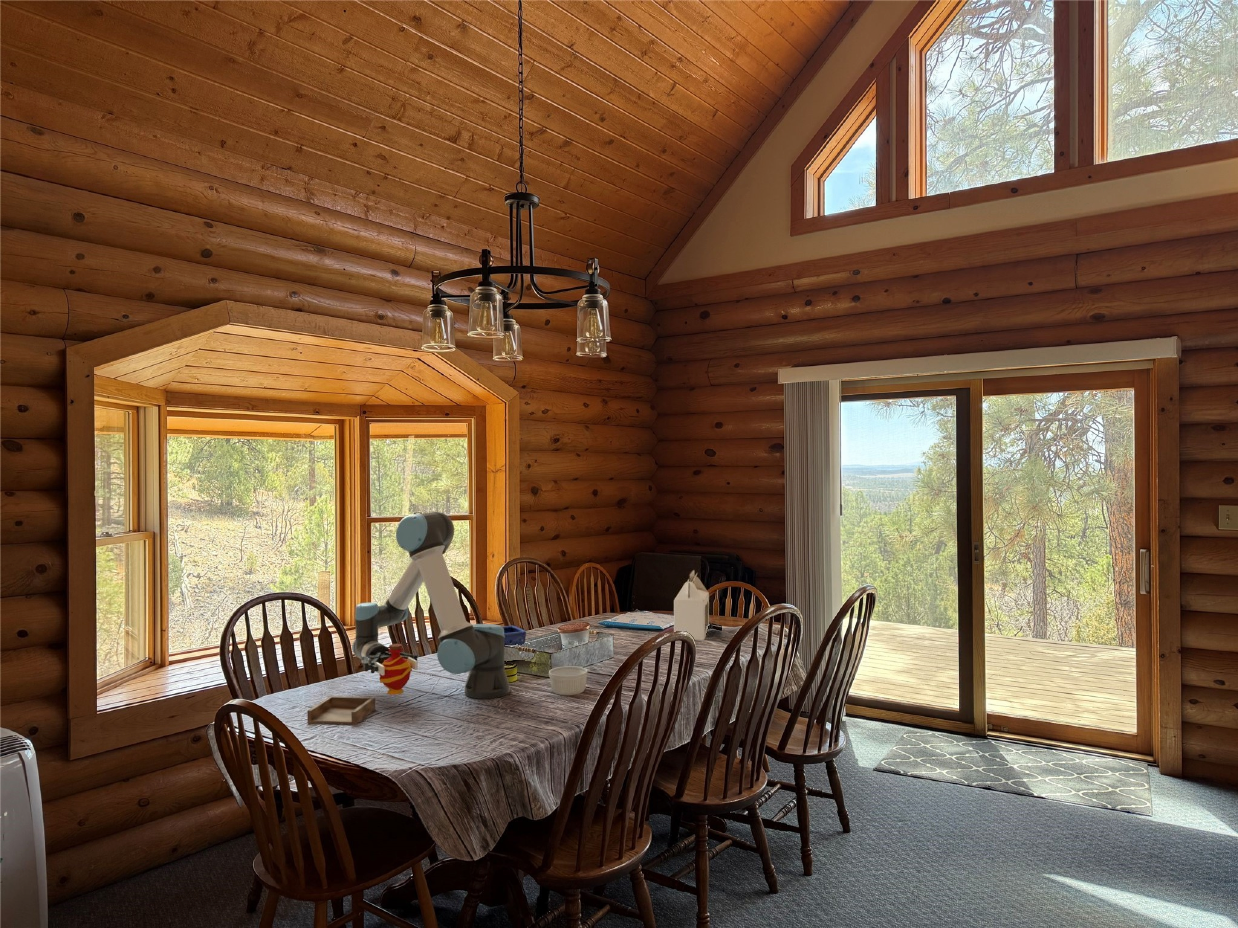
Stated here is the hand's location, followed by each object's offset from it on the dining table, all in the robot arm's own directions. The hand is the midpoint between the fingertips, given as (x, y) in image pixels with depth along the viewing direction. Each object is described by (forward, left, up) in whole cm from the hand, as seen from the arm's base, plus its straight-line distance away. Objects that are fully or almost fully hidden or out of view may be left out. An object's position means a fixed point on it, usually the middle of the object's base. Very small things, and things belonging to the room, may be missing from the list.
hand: (400, 668), depth 257 cm
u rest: (+17, +5, -14) cm, 22 cm away
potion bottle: (+3, -3, -9) cm, 10 cm away
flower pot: (-16, -69, -14) cm, 72 cm away
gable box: (-89, -122, -14) cm, 152 cm away
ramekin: (-48, -29, -14) cm, 58 cm away
